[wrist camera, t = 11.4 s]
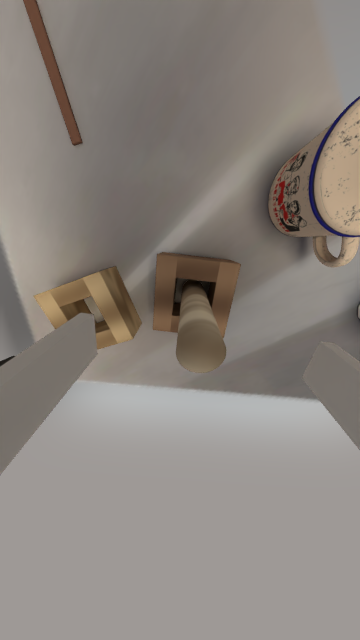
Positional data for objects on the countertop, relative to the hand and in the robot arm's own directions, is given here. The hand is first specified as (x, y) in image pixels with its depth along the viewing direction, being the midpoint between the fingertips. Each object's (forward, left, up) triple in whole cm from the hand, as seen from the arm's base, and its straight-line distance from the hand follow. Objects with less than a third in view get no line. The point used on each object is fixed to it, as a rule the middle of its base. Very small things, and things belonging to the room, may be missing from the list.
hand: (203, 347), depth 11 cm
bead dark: (0, 0, -16) cm, 16 cm away
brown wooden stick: (-21, -17, -16) cm, 31 cm away
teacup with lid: (-11, +12, -16) cm, 23 cm away
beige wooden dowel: (0, 0, -16) cm, 16 cm away
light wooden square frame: (+4, -13, -16) cm, 21 cm away
